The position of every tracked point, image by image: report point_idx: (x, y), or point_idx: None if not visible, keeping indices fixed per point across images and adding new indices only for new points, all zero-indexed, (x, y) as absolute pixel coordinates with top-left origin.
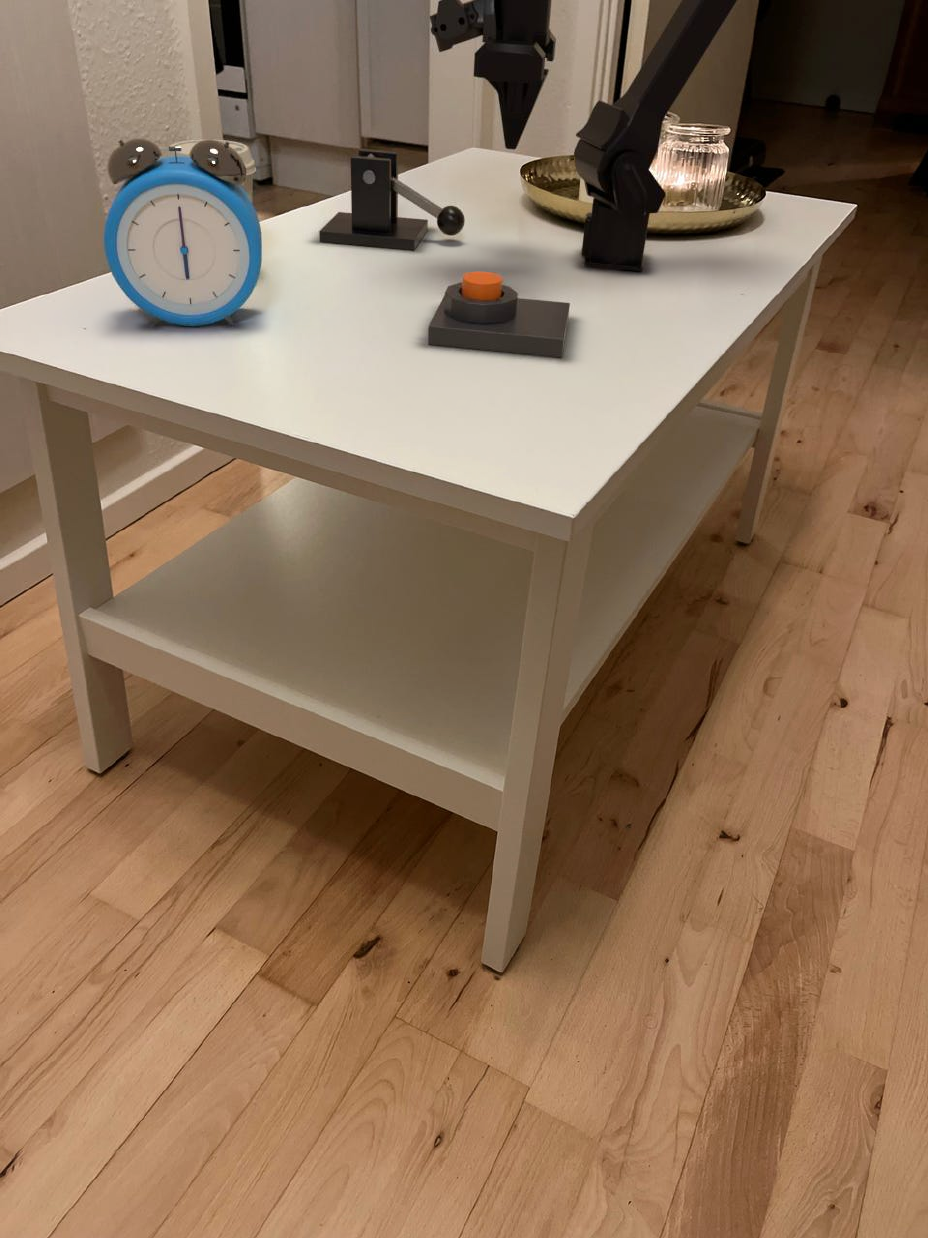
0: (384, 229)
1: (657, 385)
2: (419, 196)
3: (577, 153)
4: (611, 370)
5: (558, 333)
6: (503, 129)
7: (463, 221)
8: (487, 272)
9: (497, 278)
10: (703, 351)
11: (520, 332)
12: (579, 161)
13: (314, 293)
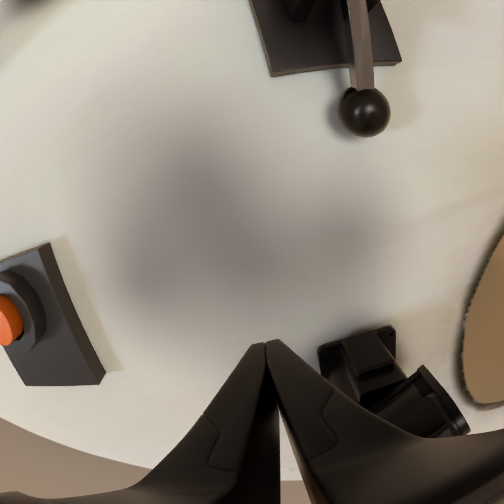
0: (289, 14)
1: (48, 430)
2: (355, 41)
3: (417, 412)
4: (44, 407)
5: (30, 381)
6: (228, 378)
7: (363, 136)
8: (9, 326)
9: (4, 341)
10: (124, 458)
11: (9, 353)
12: (399, 413)
13: (26, 79)
